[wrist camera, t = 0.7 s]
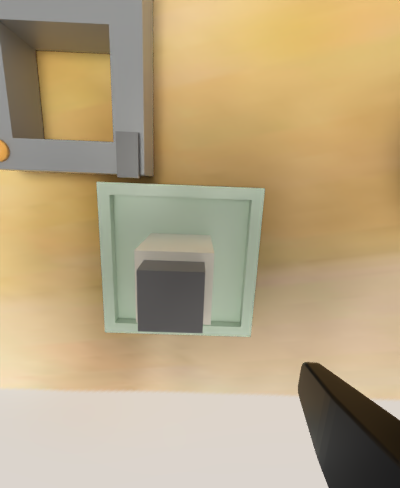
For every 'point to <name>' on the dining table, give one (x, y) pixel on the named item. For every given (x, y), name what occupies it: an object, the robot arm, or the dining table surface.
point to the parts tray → (181, 222)
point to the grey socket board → (87, 41)
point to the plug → (174, 283)
